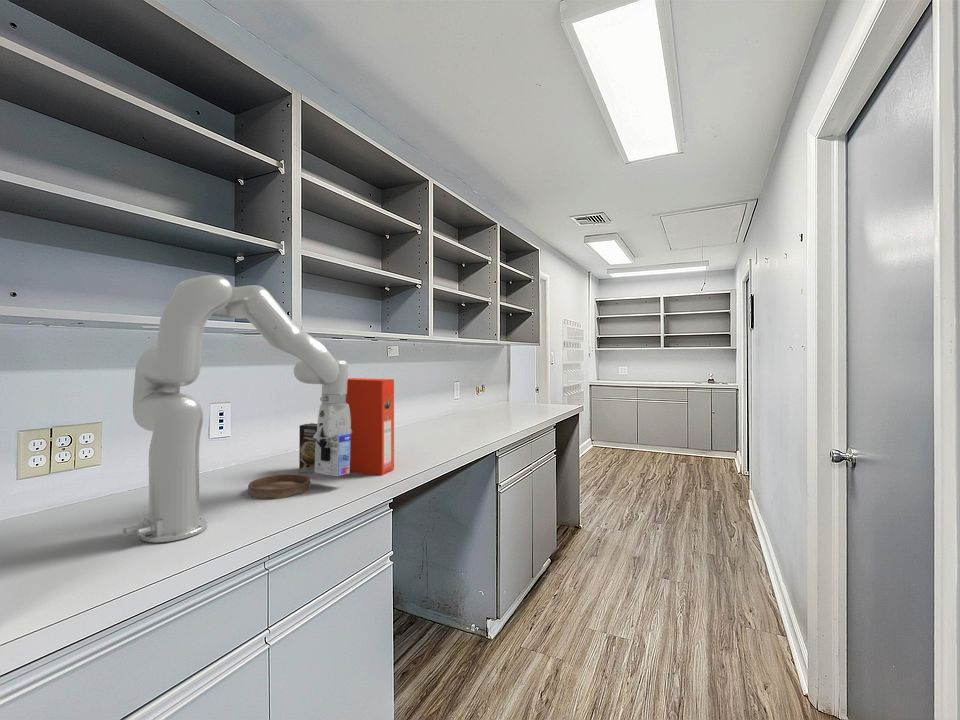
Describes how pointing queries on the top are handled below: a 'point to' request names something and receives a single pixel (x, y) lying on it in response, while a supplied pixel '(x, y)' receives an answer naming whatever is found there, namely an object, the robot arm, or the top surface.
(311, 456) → the coffee box
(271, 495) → the round tray
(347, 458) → the ink cartridge box
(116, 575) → the top surface
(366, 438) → the file binder
